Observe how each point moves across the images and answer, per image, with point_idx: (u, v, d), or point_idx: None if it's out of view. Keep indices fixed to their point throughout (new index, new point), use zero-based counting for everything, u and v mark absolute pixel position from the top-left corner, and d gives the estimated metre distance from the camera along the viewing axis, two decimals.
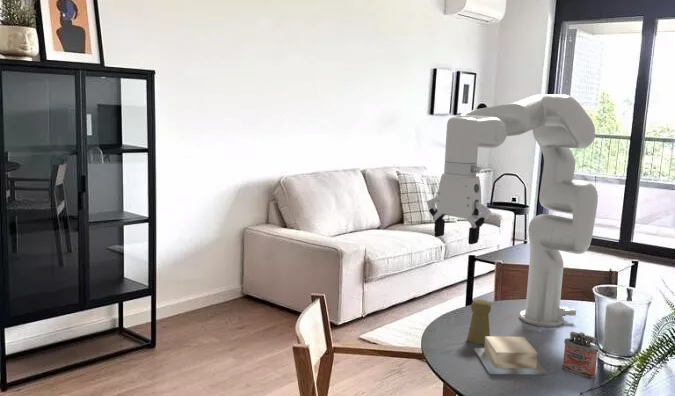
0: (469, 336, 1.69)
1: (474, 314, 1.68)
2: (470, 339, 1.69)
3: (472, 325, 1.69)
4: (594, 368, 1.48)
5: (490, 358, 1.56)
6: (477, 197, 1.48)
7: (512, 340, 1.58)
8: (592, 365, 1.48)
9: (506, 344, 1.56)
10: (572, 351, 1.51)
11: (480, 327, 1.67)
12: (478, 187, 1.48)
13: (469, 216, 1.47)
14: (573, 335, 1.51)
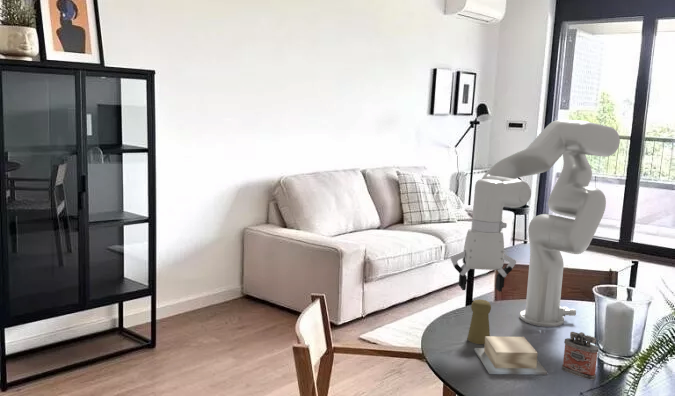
0: (469, 336, 1.69)
1: (474, 314, 1.68)
2: (470, 339, 1.69)
3: (472, 325, 1.69)
4: (594, 368, 1.48)
5: (490, 358, 1.56)
6: None
7: (512, 340, 1.58)
8: (592, 365, 1.48)
9: (506, 344, 1.56)
10: (572, 351, 1.51)
11: (480, 327, 1.67)
12: None
13: (501, 267, 1.65)
14: (573, 335, 1.51)
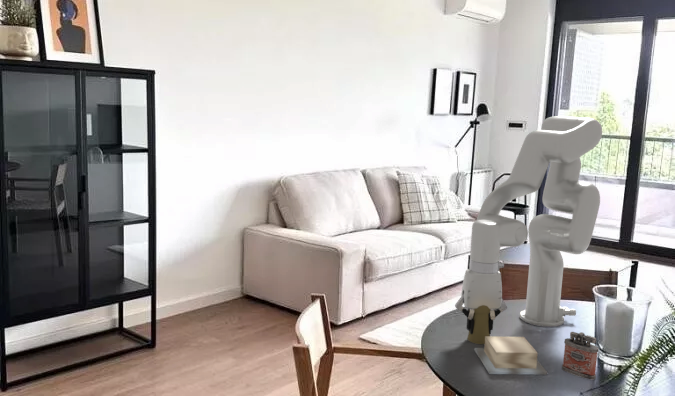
0: (470, 336, 1.69)
1: (474, 314, 1.68)
2: (470, 339, 1.69)
3: None
4: (594, 368, 1.48)
5: (490, 358, 1.56)
6: None
7: (512, 340, 1.58)
8: (592, 365, 1.48)
9: (506, 344, 1.56)
10: (572, 351, 1.51)
11: (480, 327, 1.67)
12: None
13: (499, 306, 1.67)
14: (573, 335, 1.51)
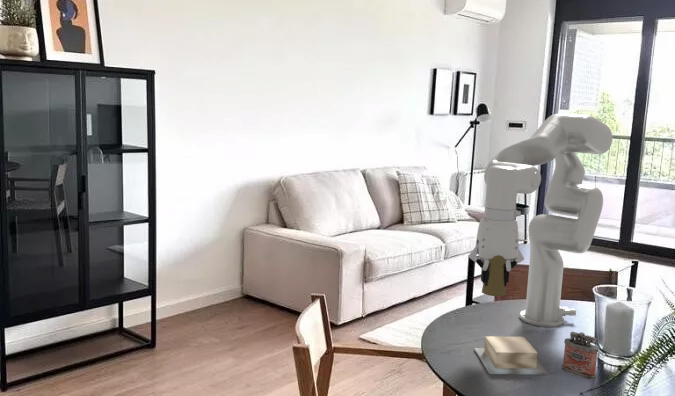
0: (484, 288, 1.61)
1: (489, 265, 1.61)
2: (484, 291, 1.61)
3: None
4: (594, 368, 1.48)
5: (490, 358, 1.56)
6: None
7: (512, 340, 1.58)
8: (592, 365, 1.48)
9: (506, 344, 1.56)
10: (572, 351, 1.51)
11: (495, 278, 1.60)
12: None
13: (516, 257, 1.59)
14: (573, 335, 1.51)
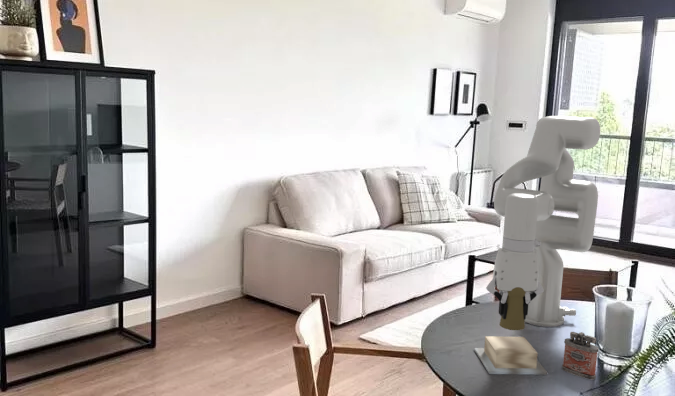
0: (502, 322, 1.54)
1: (507, 297, 1.53)
2: (503, 325, 1.54)
3: None
4: (594, 368, 1.48)
5: (490, 358, 1.56)
6: None
7: (512, 340, 1.58)
8: (592, 365, 1.48)
9: (506, 344, 1.56)
10: (572, 351, 1.51)
11: (514, 311, 1.52)
12: None
13: (535, 289, 1.52)
14: (573, 335, 1.51)
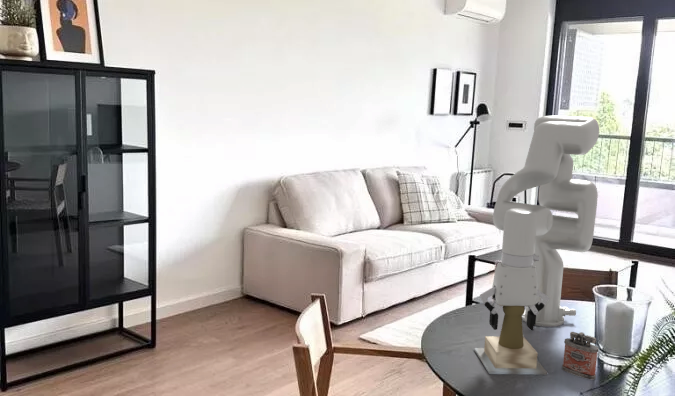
0: (501, 340, 1.55)
1: (506, 316, 1.54)
2: (502, 343, 1.55)
3: (504, 328, 1.55)
4: (594, 368, 1.48)
5: (490, 358, 1.56)
6: None
7: None
8: (592, 365, 1.48)
9: None
10: (572, 351, 1.51)
11: (513, 330, 1.53)
12: None
13: (534, 303, 1.53)
14: (573, 335, 1.51)
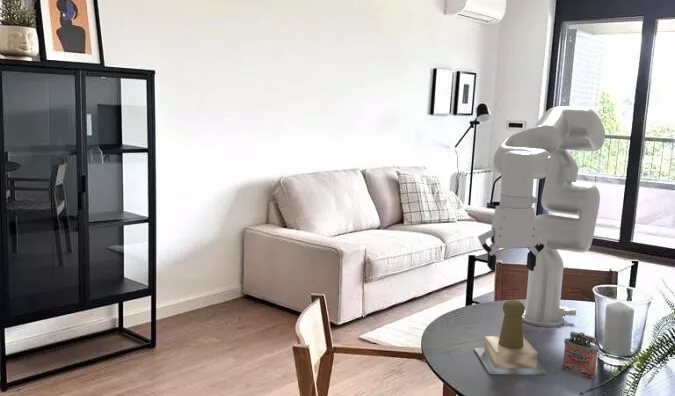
0: (501, 340, 1.55)
1: (506, 316, 1.54)
2: (502, 343, 1.55)
3: (504, 328, 1.55)
4: (594, 368, 1.48)
5: (490, 358, 1.56)
6: None
7: None
8: (592, 365, 1.48)
9: None
10: (572, 351, 1.51)
11: (513, 330, 1.53)
12: None
13: (533, 245, 1.54)
14: (573, 335, 1.51)
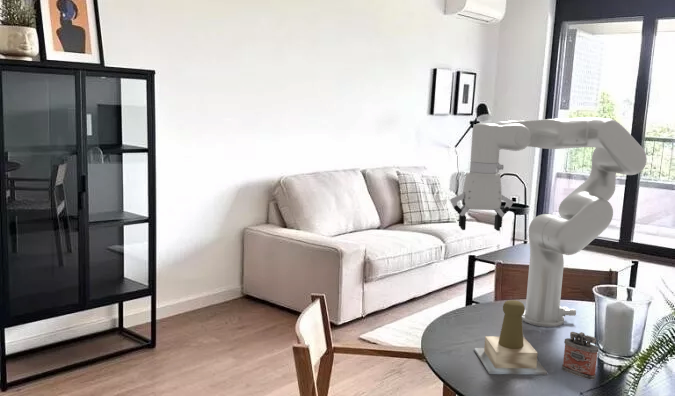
0: (501, 340, 1.55)
1: (506, 316, 1.54)
2: (502, 343, 1.55)
3: (504, 328, 1.55)
4: (594, 368, 1.48)
5: (490, 358, 1.56)
6: None
7: None
8: (592, 365, 1.48)
9: None
10: (572, 351, 1.51)
11: (513, 330, 1.53)
12: None
13: (499, 207, 1.73)
14: (573, 335, 1.51)
